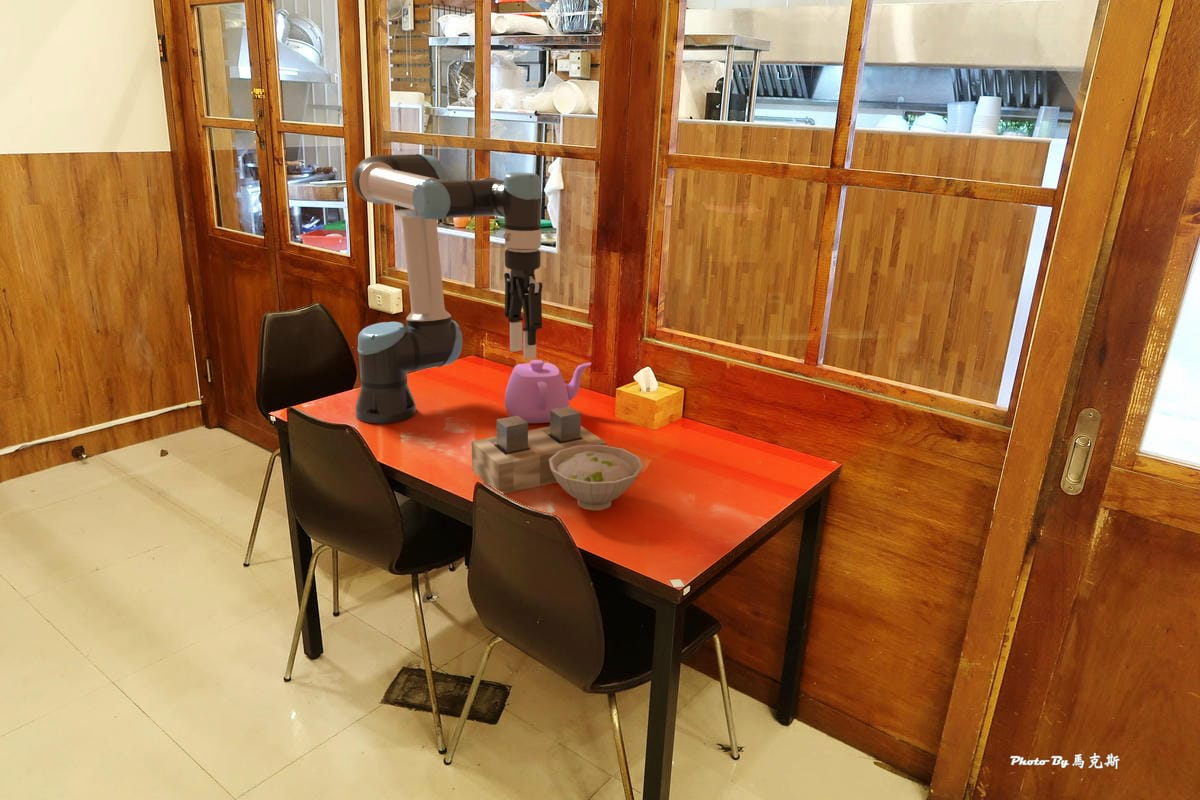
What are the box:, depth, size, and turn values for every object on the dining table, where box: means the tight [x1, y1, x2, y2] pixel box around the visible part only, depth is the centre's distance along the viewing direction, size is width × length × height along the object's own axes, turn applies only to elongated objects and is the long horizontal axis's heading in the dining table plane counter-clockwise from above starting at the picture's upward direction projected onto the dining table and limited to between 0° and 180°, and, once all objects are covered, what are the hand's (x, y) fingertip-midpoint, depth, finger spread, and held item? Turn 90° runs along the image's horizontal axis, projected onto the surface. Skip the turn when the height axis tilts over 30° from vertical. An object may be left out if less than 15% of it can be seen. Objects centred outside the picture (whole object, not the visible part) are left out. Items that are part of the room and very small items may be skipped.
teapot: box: [504, 359, 592, 424], centre depth 206 cm, size 23×21×15 cm
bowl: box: [549, 445, 644, 511], centre depth 162 cm, size 19×19×10 cm
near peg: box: [496, 416, 529, 455], centre depth 171 cm, size 5×5×6 cm
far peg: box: [549, 405, 582, 444], centre depth 177 cm, size 5×5×6 cm
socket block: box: [471, 425, 607, 495], centre depth 176 cm, size 14×26×7 cm, turn 121°
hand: (522, 354), depth 176 cm, fingers open, 6 cm apart
